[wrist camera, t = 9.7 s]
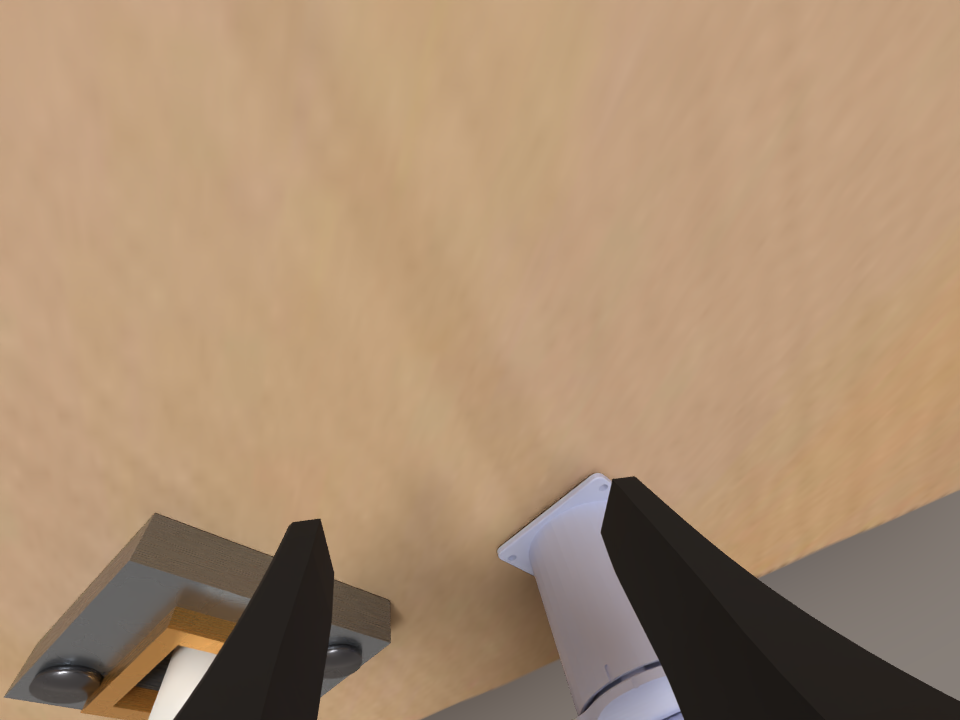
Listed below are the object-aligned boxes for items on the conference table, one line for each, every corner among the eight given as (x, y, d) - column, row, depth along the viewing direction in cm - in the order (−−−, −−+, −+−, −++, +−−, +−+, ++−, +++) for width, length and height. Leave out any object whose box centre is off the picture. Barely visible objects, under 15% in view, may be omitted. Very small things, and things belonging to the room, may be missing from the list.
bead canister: (278, 610, 26) (250, 751, 21) (237, 645, 27) (200, 787, 22) (213, 588, 24) (162, 736, 19) (171, 626, 25) (111, 778, 20)
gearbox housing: (390, 600, 28) (390, 661, 25) (275, 694, 31) (263, 759, 28) (154, 513, 21) (117, 582, 18) (37, 643, 24) (-12, 721, 21)
